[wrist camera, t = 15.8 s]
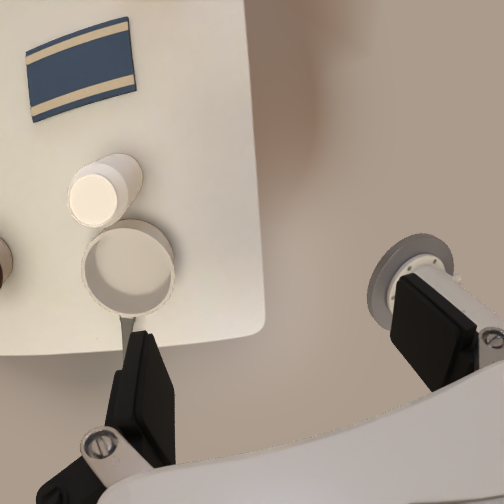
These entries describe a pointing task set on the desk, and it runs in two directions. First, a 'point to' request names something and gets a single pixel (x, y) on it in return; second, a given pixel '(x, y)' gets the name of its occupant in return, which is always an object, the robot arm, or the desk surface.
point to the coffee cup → (4, 262)
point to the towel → (80, 69)
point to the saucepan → (129, 271)
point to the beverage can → (104, 190)
